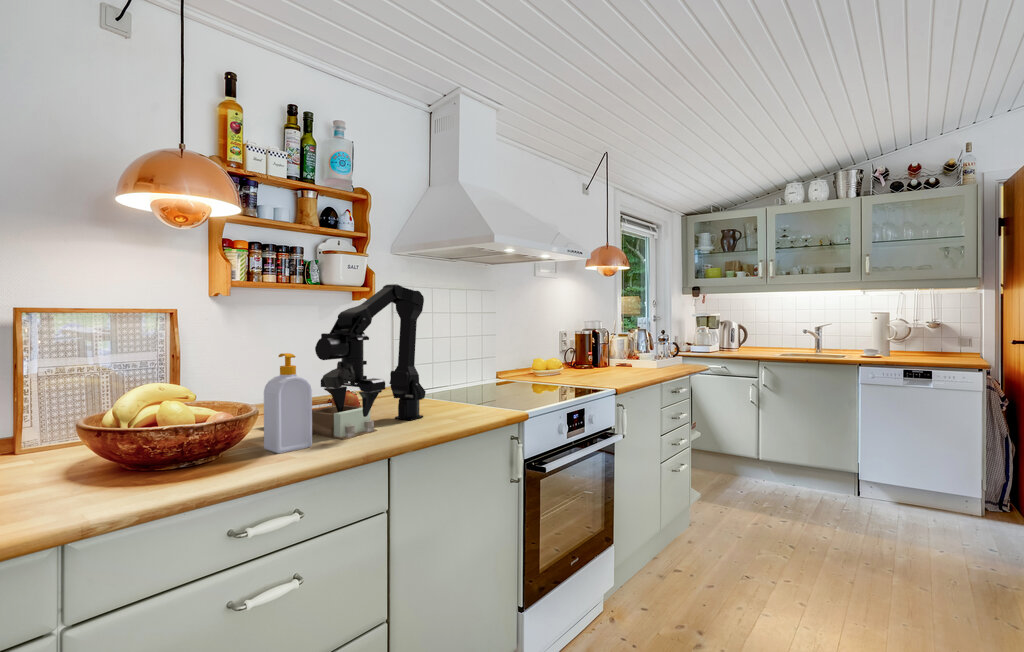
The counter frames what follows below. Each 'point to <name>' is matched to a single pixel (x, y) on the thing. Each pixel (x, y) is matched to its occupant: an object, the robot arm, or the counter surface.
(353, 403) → the orange-red spiky ball
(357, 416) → the door
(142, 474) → the counter surface
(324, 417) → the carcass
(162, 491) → the counter surface
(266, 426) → the soap bottle
